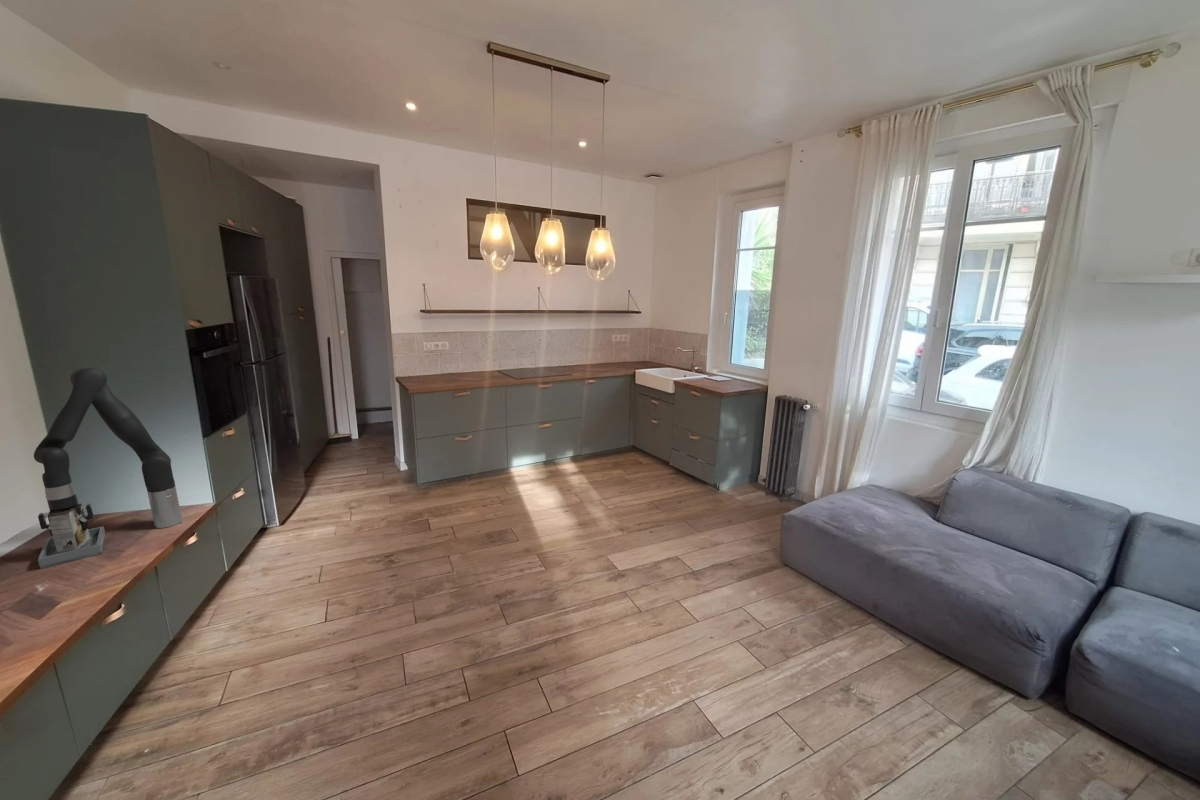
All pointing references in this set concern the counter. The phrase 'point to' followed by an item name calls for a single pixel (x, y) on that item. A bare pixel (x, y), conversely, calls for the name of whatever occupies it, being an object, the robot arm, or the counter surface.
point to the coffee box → (68, 529)
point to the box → (88, 549)
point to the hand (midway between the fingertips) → (71, 532)
